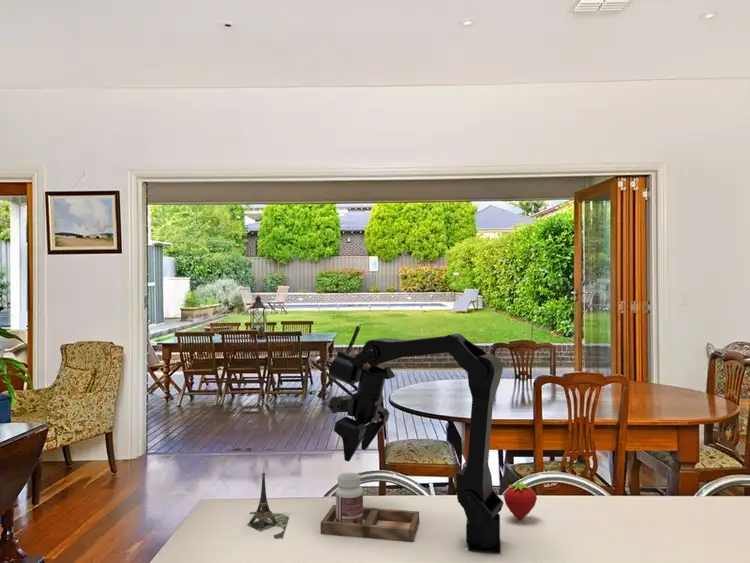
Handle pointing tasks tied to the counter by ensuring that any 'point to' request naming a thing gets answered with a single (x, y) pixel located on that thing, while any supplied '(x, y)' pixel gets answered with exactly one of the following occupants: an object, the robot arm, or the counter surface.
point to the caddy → (389, 527)
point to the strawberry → (520, 500)
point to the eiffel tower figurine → (267, 515)
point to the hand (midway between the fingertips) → (355, 455)
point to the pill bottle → (349, 499)
